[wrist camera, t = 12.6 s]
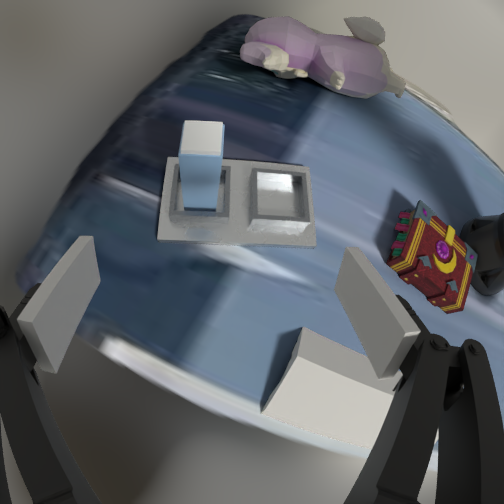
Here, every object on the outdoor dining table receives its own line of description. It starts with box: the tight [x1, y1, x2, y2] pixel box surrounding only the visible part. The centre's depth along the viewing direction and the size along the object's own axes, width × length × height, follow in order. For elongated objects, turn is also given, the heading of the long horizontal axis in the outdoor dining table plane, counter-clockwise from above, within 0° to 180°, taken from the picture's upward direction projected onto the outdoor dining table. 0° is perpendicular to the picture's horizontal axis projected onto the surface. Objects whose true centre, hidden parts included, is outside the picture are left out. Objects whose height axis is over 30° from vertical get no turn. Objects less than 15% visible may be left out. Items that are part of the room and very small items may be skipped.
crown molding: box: [261, 327, 438, 449], centre depth 33 cm, size 29×12×4 cm, turn 64°
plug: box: [178, 120, 224, 212], centre depth 32 cm, size 4×5×13 cm
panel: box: [157, 157, 317, 249], centre depth 38 cm, size 20×12×3 cm, turn 91°
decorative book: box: [386, 200, 478, 314], centre depth 40 cm, size 11×16×5 cm
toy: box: [240, 17, 406, 98], centre depth 43 cm, size 29×17×30 cm
